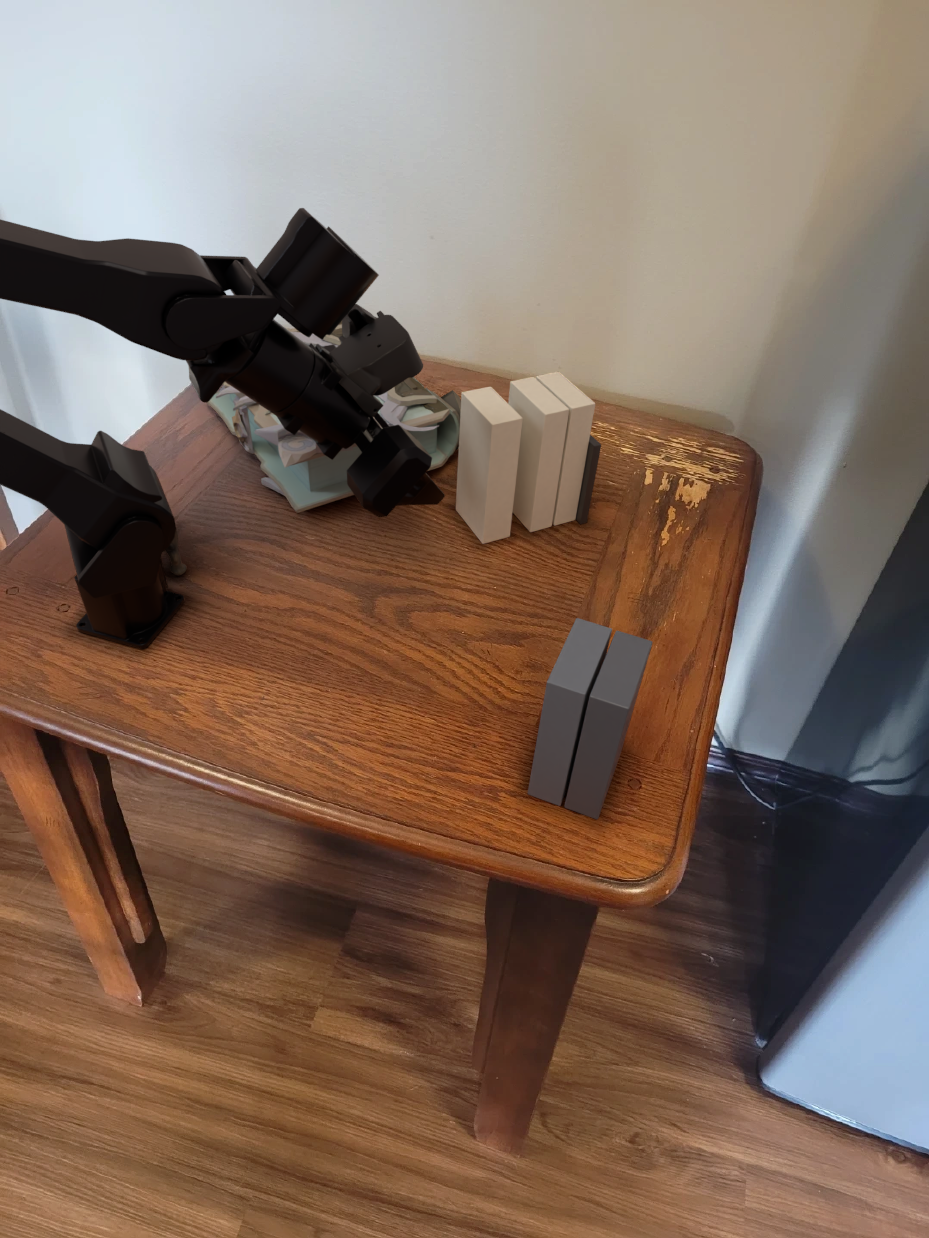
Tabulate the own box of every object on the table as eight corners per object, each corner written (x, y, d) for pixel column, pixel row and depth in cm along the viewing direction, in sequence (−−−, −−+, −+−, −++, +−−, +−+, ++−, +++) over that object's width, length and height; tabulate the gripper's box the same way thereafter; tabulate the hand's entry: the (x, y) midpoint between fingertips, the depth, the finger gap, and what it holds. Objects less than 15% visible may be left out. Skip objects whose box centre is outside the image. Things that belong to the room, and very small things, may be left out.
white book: (482, 544, 81) (492, 424, 72) (455, 509, 85) (461, 392, 76) (510, 536, 82) (523, 418, 73) (481, 503, 86) (490, 386, 77)
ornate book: (481, 480, 91) (348, 354, 107) (489, 400, 84) (346, 279, 100) (286, 546, 81) (173, 397, 98) (277, 462, 74) (158, 317, 91)
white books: (534, 537, 82) (550, 419, 73) (495, 493, 87) (505, 377, 78) (587, 522, 84) (608, 405, 76) (546, 480, 90) (562, 365, 81)
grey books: (527, 794, 61) (546, 681, 52) (554, 730, 65) (576, 617, 57) (597, 820, 59) (629, 709, 51) (620, 753, 64) (653, 640, 56)
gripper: (408, 348, 56) (533, 457, 68) (313, 248, 68) (434, 355, 80) (303, 473, 59) (440, 557, 70) (229, 356, 71) (357, 444, 82)
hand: (418, 471), depth 76 cm, fingers open, 9 cm apart
